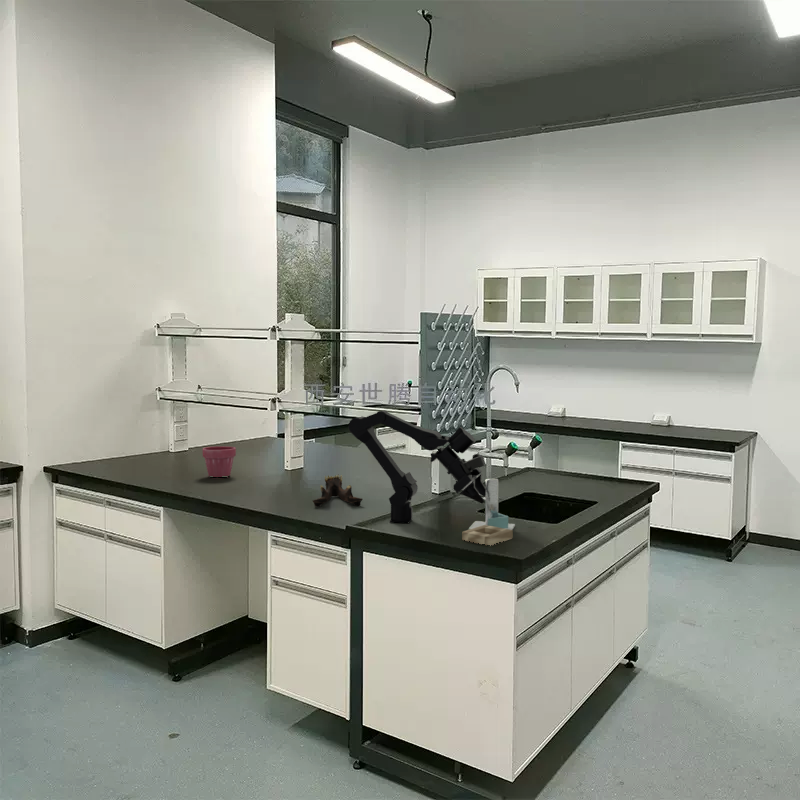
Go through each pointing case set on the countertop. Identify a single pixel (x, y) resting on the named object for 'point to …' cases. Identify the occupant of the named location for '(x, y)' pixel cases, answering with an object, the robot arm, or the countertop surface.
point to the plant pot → (219, 460)
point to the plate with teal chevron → (495, 522)
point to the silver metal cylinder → (491, 498)
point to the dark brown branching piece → (336, 492)
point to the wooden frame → (487, 535)
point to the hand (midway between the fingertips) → (485, 499)
